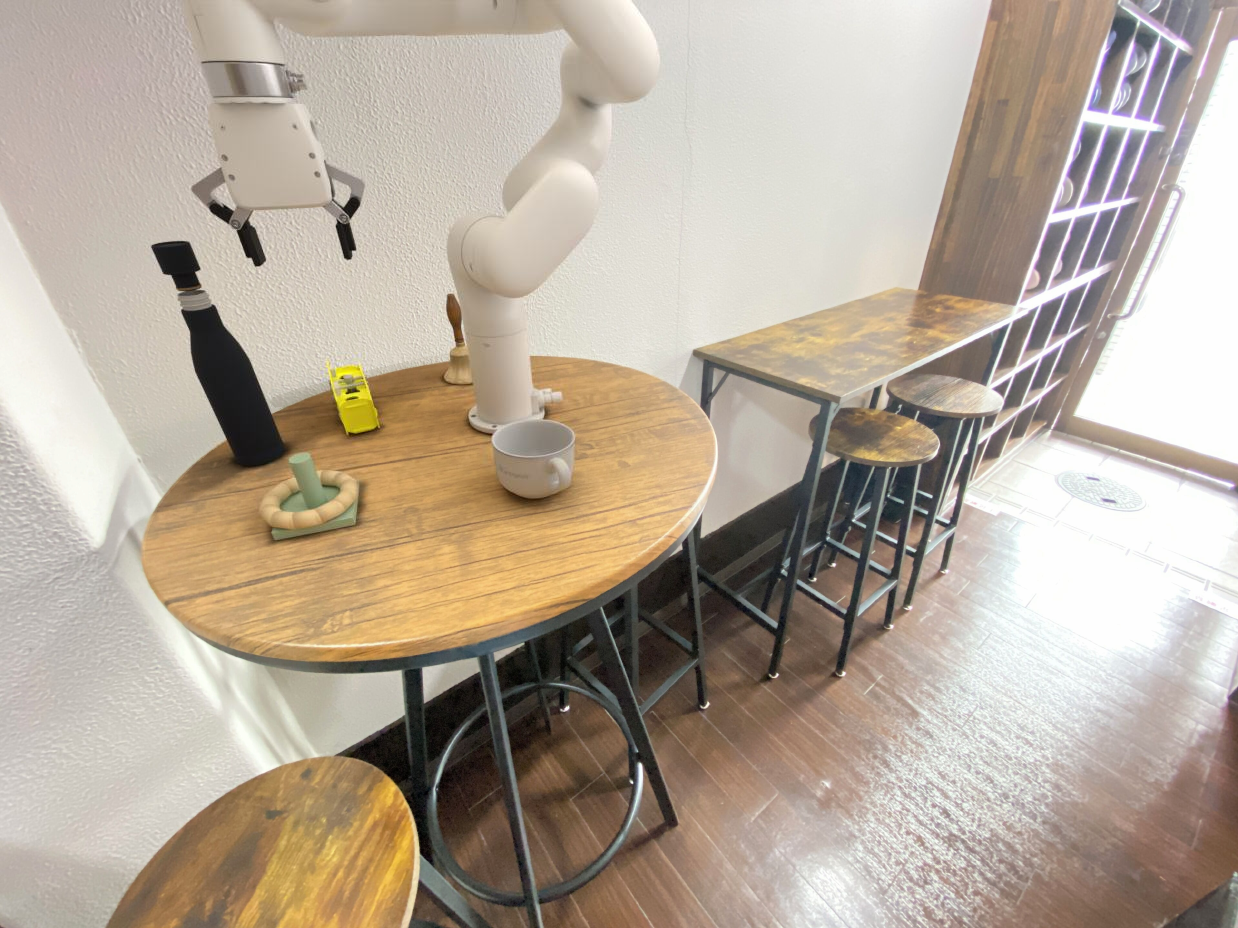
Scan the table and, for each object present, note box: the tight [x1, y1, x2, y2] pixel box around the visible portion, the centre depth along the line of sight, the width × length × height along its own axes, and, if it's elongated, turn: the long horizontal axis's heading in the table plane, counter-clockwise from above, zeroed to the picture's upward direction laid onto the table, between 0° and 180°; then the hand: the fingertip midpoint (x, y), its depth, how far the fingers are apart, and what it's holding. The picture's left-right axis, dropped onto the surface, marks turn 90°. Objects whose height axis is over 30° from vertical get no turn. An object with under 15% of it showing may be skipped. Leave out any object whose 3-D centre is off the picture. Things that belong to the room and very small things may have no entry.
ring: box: [258, 469, 358, 530], centre depth 68 cm, size 11×11×2 cm
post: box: [271, 452, 360, 541], centre depth 67 cm, size 9×9×8 cm
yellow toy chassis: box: [325, 359, 381, 436], centre depth 89 cm, size 16×6×8 cm, turn 29°
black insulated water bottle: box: [150, 240, 286, 467], centre depth 72 cm, size 6×6×30 cm
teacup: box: [490, 418, 576, 500], centre depth 70 cm, size 14×11×8 cm
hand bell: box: [443, 293, 473, 386], centre depth 101 cm, size 8×8×16 cm
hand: (305, 260), depth 64 cm, fingers open, 9 cm apart
